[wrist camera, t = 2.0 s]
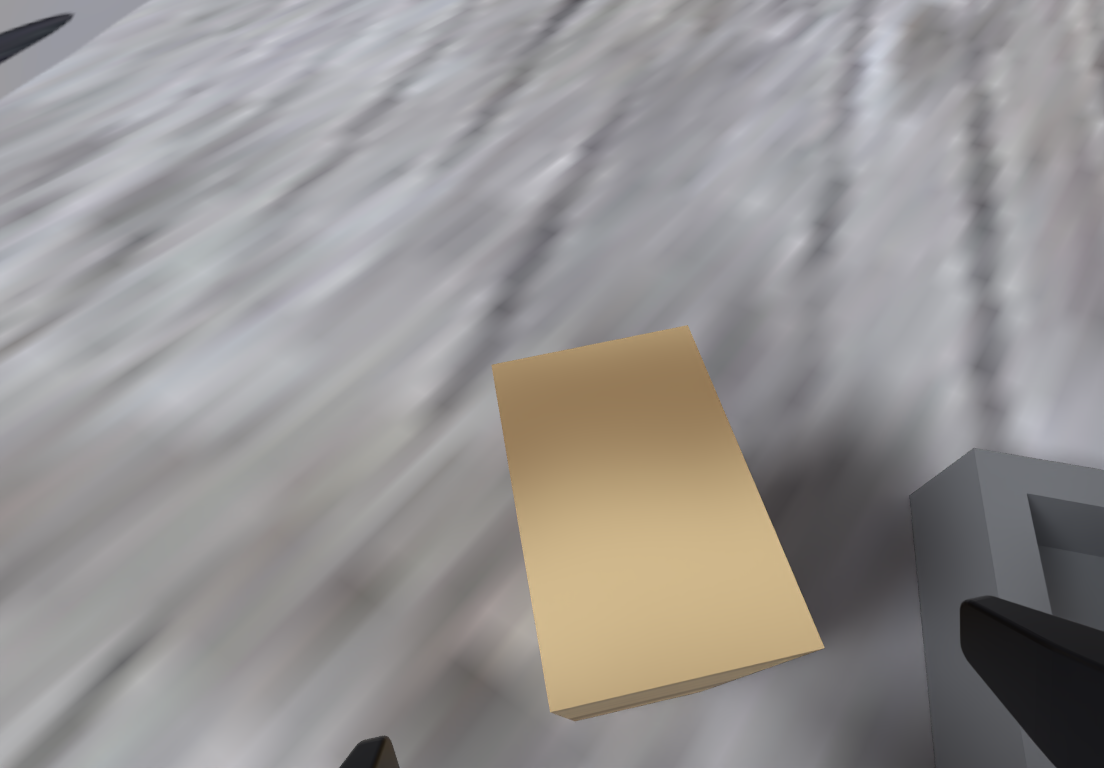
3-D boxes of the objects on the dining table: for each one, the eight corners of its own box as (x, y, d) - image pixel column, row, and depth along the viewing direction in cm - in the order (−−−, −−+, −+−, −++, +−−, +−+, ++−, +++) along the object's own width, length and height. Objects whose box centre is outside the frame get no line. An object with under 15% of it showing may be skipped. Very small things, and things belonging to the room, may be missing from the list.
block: (700, 691, 17) (825, 648, 8) (575, 721, 17) (549, 712, 8) (645, 509, 20) (687, 325, 11) (539, 532, 20) (491, 365, 11)
